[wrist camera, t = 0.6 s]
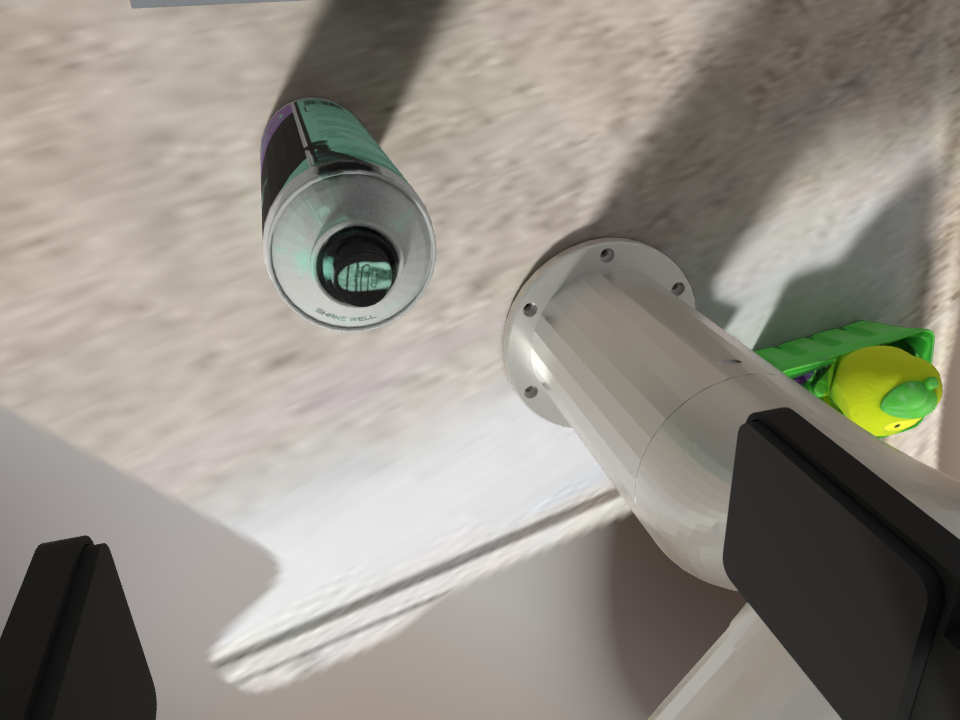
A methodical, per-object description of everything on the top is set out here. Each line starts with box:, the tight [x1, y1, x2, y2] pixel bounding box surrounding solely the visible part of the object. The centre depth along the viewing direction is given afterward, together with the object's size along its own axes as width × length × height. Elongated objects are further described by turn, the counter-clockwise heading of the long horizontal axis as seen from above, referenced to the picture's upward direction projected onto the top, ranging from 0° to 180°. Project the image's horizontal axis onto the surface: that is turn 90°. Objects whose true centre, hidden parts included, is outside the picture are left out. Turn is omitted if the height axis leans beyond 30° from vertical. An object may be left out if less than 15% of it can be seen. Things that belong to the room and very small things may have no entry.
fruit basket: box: [754, 320, 942, 439], centre depth 49 cm, size 11×9×11 cm
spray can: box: [260, 97, 436, 332], centre depth 31 cm, size 6×6×20 cm
